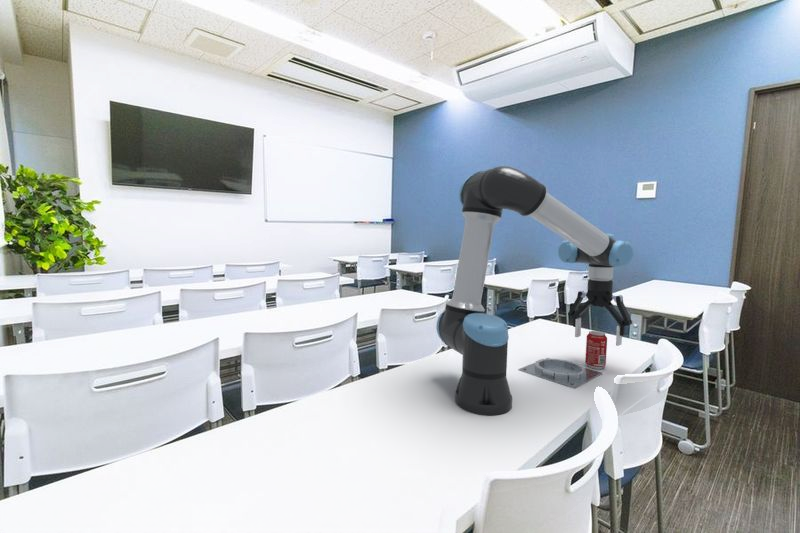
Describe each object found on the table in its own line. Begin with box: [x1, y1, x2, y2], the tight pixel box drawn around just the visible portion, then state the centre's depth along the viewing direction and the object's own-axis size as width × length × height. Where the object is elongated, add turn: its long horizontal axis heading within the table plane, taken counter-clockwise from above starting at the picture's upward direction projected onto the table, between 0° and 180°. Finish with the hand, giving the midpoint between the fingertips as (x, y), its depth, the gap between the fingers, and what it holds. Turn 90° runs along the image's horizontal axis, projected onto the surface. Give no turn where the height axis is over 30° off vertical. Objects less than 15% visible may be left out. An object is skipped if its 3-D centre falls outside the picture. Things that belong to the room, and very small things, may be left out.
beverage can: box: [584, 330, 608, 370], centre depth 133 cm, size 6×6×12 cm
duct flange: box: [517, 357, 603, 389], centre depth 128 cm, size 19×19×2 cm
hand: (597, 340), depth 133 cm, fingers open, 13 cm apart
